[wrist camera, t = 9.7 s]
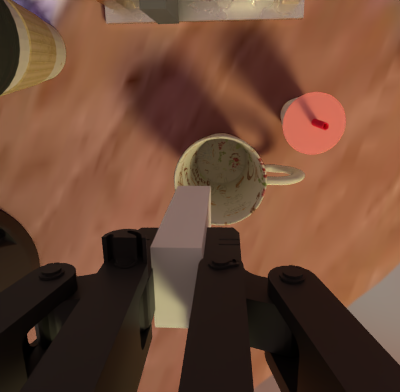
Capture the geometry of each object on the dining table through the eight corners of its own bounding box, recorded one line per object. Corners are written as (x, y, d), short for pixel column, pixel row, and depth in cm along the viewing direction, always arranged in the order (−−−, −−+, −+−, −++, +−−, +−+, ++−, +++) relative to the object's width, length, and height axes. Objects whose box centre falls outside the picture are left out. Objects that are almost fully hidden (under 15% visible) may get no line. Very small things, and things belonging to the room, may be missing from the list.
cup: (326, 92, 41) (365, 99, 29) (314, 142, 42) (347, 166, 31) (276, 85, 41) (296, 88, 29) (266, 134, 42) (281, 156, 31)
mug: (184, 122, 42) (172, 135, 33) (298, 122, 42) (319, 136, 32) (185, 193, 45) (174, 224, 35) (293, 195, 44) (311, 227, 35)
